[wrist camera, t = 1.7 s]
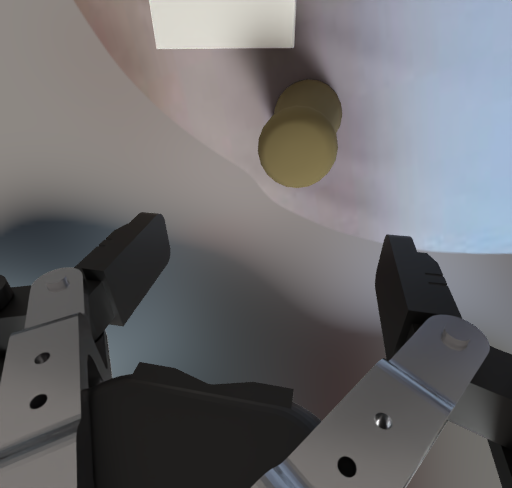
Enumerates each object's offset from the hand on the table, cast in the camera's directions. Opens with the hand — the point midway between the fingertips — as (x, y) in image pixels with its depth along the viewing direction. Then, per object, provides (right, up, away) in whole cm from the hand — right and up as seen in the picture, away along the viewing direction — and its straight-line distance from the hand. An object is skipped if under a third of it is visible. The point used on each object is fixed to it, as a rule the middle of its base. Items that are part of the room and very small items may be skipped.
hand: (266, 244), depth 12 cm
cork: (+4, +12, +17) cm, 21 cm away
